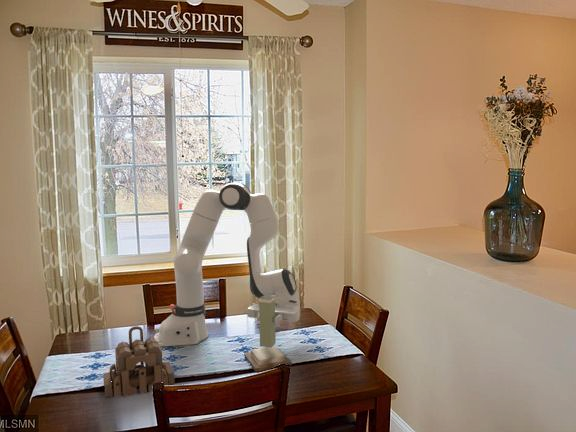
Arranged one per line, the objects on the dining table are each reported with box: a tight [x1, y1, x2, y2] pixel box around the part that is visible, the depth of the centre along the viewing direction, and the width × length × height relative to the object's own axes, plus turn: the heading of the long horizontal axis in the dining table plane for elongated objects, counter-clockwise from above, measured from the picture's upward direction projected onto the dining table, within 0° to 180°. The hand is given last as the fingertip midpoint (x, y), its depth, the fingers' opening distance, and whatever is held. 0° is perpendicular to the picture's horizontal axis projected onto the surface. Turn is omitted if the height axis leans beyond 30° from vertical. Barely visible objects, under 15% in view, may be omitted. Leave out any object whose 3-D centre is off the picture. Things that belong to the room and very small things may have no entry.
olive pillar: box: [258, 295, 277, 348], centre depth 182 cm, size 5×5×18 cm
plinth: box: [243, 345, 293, 372], centre depth 184 cm, size 14×14×3 cm
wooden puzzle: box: [102, 325, 176, 398], centre depth 166 cm, size 22×15×19 cm, turn 114°
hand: (266, 319), depth 181 cm, fingers closed on olive pillar, 4 cm apart
